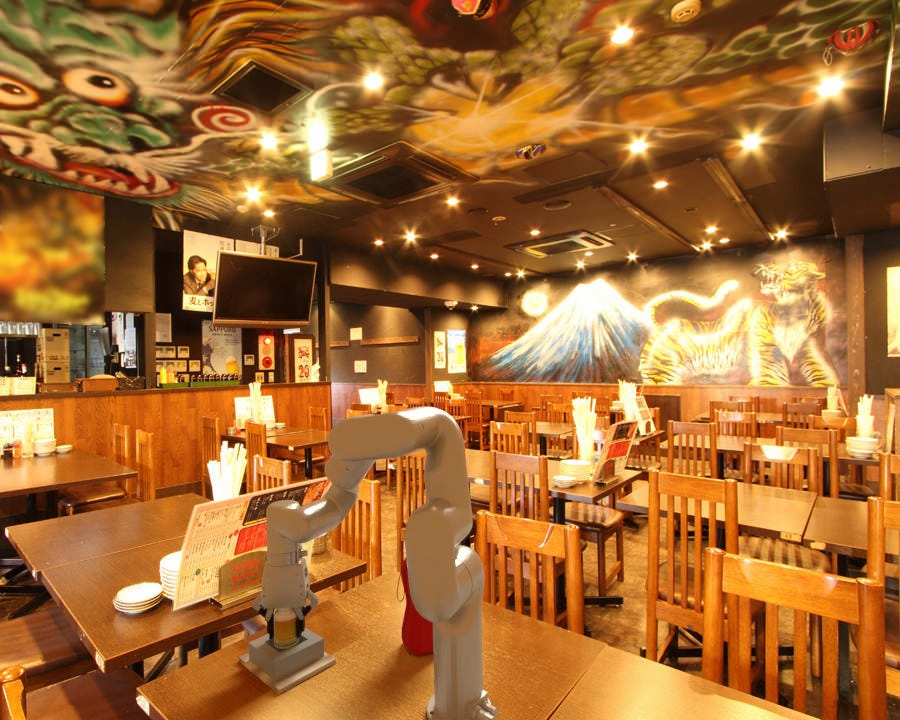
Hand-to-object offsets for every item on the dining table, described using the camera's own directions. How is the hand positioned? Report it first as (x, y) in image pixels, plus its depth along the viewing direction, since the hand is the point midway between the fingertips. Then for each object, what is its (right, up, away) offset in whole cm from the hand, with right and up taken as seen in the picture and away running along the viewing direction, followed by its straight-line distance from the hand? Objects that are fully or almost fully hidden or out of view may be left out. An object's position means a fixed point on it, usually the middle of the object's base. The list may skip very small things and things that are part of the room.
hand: (286, 634), depth 116 cm
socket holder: (0, -6, 0) cm, 6 cm away
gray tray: (0, -6, 0) cm, 6 cm away
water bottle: (+30, -6, +5) cm, 31 cm away
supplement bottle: (0, -2, 0) cm, 2 cm away
